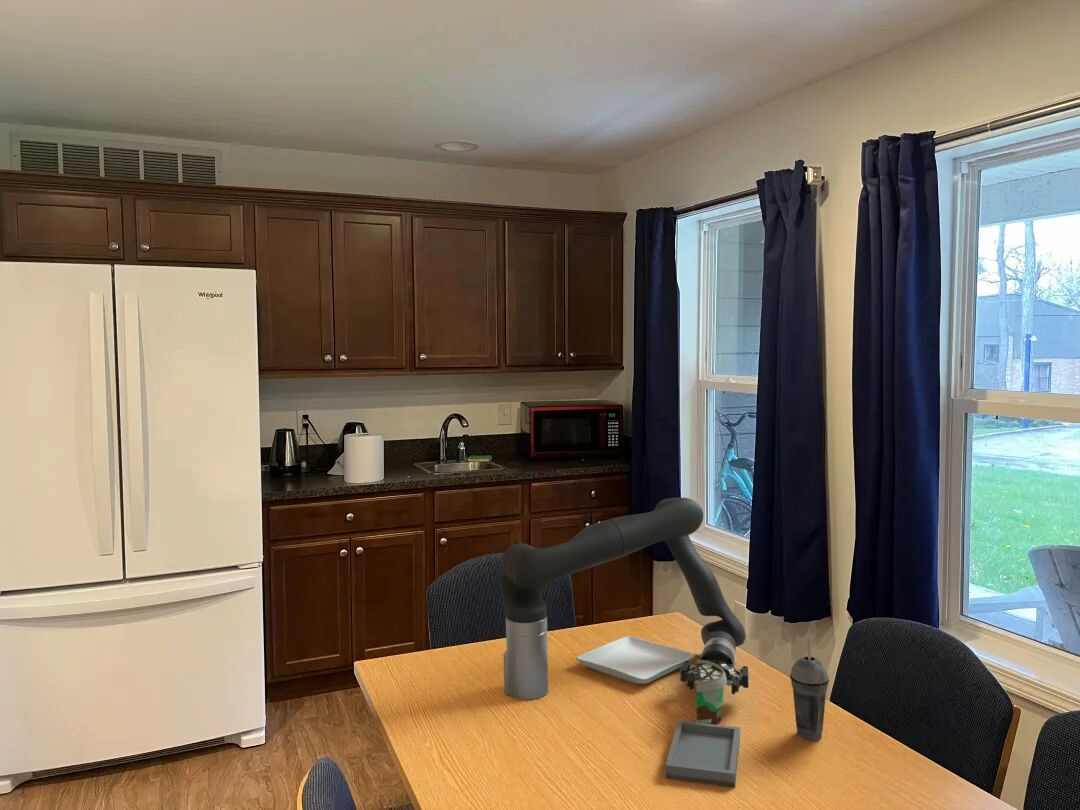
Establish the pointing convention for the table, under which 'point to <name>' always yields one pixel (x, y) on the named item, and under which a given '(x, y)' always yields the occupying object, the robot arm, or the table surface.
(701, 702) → the food container
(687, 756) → the tray
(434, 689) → the table surface
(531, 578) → the robot arm
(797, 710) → the beverage cup
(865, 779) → the table surface
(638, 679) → the salad plate
